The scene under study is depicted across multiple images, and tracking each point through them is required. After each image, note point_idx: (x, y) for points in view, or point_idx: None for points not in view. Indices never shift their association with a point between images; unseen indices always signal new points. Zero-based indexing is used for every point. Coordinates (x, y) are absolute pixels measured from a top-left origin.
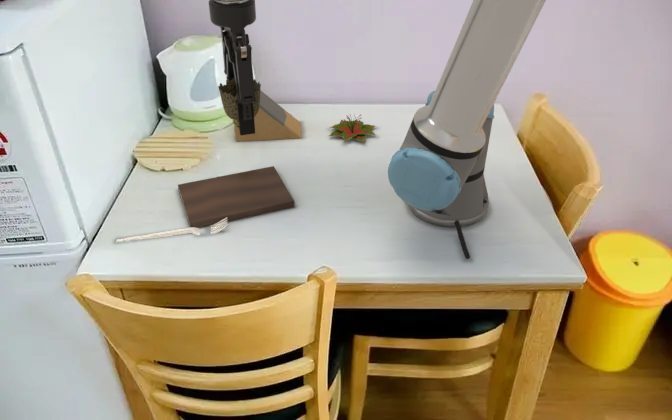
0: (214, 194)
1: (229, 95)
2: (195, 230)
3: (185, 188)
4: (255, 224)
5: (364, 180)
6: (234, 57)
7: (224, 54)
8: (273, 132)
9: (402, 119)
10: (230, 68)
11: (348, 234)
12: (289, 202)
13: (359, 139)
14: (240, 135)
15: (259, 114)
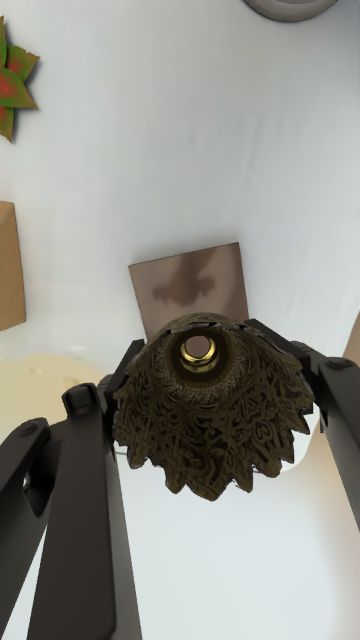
0: (197, 356)
1: (287, 452)
2: None
3: None
4: (262, 302)
5: (178, 98)
6: (128, 603)
7: (3, 628)
8: (9, 256)
9: None
10: (121, 508)
11: (324, 166)
12: (239, 250)
13: (24, 68)
14: (18, 316)
15: None
